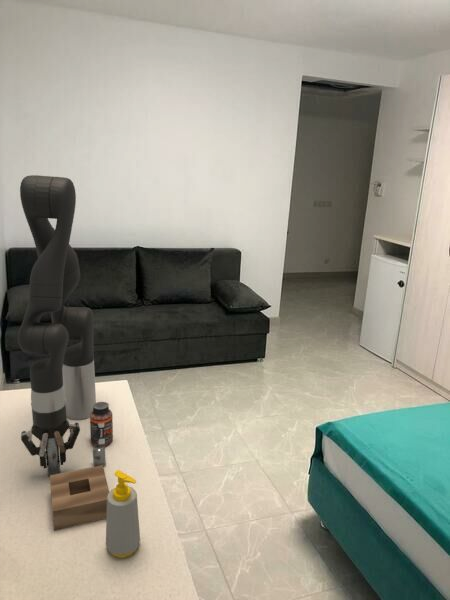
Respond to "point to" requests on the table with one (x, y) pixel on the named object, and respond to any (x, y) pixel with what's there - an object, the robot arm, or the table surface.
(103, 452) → the short pin
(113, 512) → the soap bottle
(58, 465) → the tall pin
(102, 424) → the supplement bottle
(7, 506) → the table surface
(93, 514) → the guide block
